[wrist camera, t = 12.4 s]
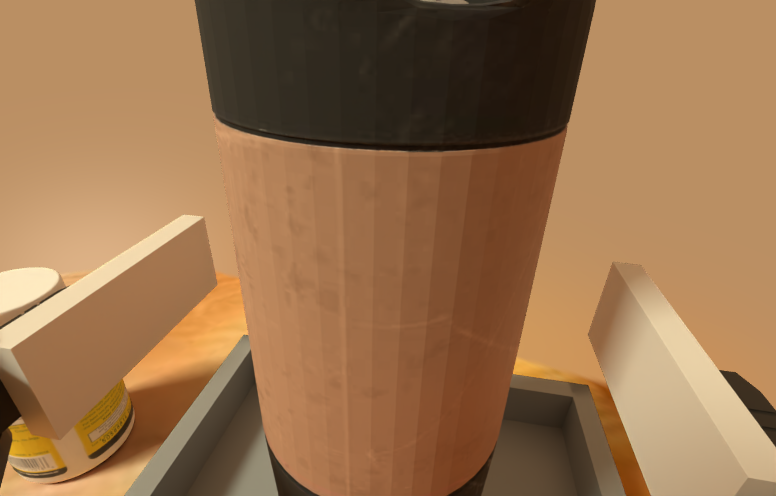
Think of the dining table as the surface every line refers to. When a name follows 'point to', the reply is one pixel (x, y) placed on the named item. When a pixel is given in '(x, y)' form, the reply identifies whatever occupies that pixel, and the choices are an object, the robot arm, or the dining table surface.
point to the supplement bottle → (93, 432)
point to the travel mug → (388, 221)
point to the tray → (505, 476)
